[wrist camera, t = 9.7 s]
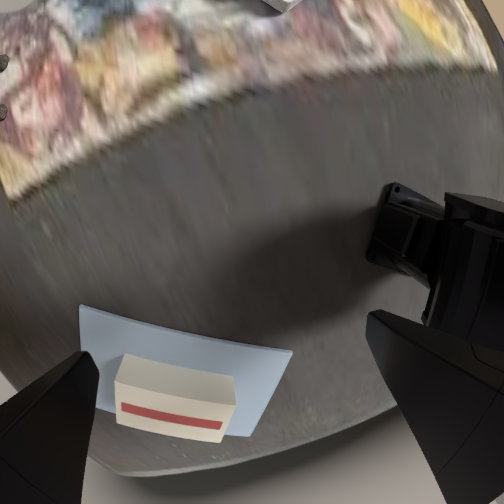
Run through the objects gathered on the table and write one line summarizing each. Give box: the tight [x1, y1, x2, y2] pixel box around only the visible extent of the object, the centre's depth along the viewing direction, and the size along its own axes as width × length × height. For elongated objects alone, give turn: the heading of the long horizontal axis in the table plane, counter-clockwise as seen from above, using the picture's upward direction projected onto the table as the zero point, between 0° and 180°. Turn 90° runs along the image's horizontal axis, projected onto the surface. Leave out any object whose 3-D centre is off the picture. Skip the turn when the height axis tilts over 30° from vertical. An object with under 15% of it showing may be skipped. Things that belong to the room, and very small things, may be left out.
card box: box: [114, 353, 236, 443], centre depth 21 cm, size 6×10×4 cm, turn 73°
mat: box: [79, 304, 293, 437], centre depth 23 cm, size 18×13×1 cm
